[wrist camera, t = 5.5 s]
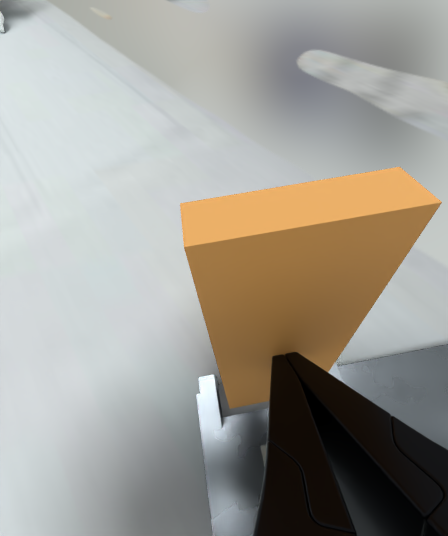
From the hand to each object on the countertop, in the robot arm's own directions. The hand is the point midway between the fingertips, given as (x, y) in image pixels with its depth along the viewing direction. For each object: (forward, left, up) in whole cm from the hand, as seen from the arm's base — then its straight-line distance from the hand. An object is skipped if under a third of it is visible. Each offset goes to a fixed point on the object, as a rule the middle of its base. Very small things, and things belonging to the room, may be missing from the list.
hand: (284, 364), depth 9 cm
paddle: (-1, 0, -6) cm, 6 cm away
